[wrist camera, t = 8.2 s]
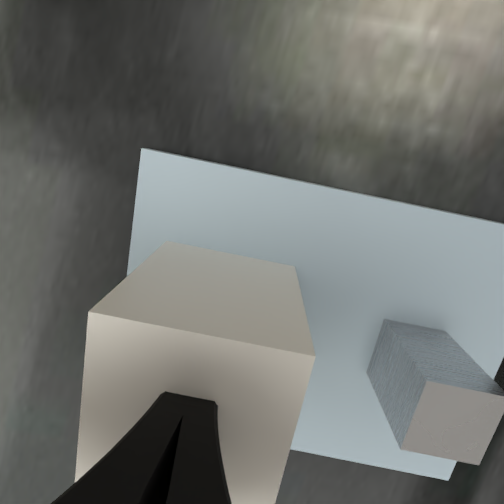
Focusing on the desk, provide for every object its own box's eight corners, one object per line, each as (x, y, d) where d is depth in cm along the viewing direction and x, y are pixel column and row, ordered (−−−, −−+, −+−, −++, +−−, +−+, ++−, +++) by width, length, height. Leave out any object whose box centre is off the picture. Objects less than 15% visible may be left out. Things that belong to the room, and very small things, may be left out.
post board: (542, 231, 15) (557, 235, 14) (440, 466, 18) (448, 480, 17) (148, 148, 14) (141, 148, 14) (117, 401, 18) (110, 413, 17)
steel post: (437, 322, 16) (510, 397, 11) (417, 373, 17) (479, 465, 12) (378, 310, 16) (426, 380, 11) (361, 362, 17) (400, 449, 12)
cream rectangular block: (294, 266, 15) (315, 356, 8) (268, 377, 16) (268, 526, 10) (166, 240, 15) (88, 311, 8) (151, 354, 16) (74, 489, 10)
